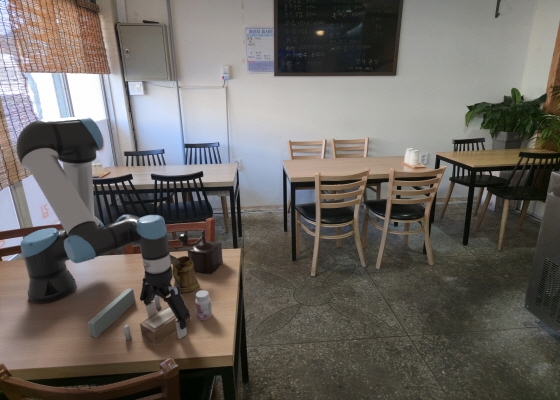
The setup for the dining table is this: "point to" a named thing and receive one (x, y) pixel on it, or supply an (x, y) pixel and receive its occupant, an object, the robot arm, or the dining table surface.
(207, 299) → the pill bottle
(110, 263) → the dining table surface
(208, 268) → the dark brown coffee grinder
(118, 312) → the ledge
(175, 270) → the wooden mug
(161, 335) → the frame
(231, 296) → the dining table surface
